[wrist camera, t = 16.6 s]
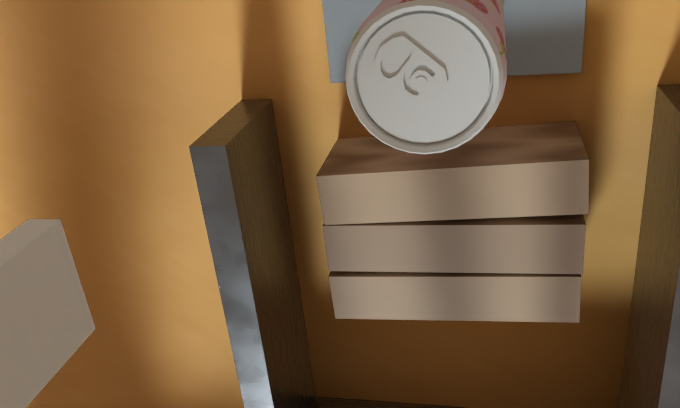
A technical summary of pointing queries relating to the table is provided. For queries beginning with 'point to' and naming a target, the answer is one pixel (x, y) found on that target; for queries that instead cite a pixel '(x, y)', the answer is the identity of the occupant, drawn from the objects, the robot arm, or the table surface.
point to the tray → (283, 286)
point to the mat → (520, 34)
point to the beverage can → (428, 71)
